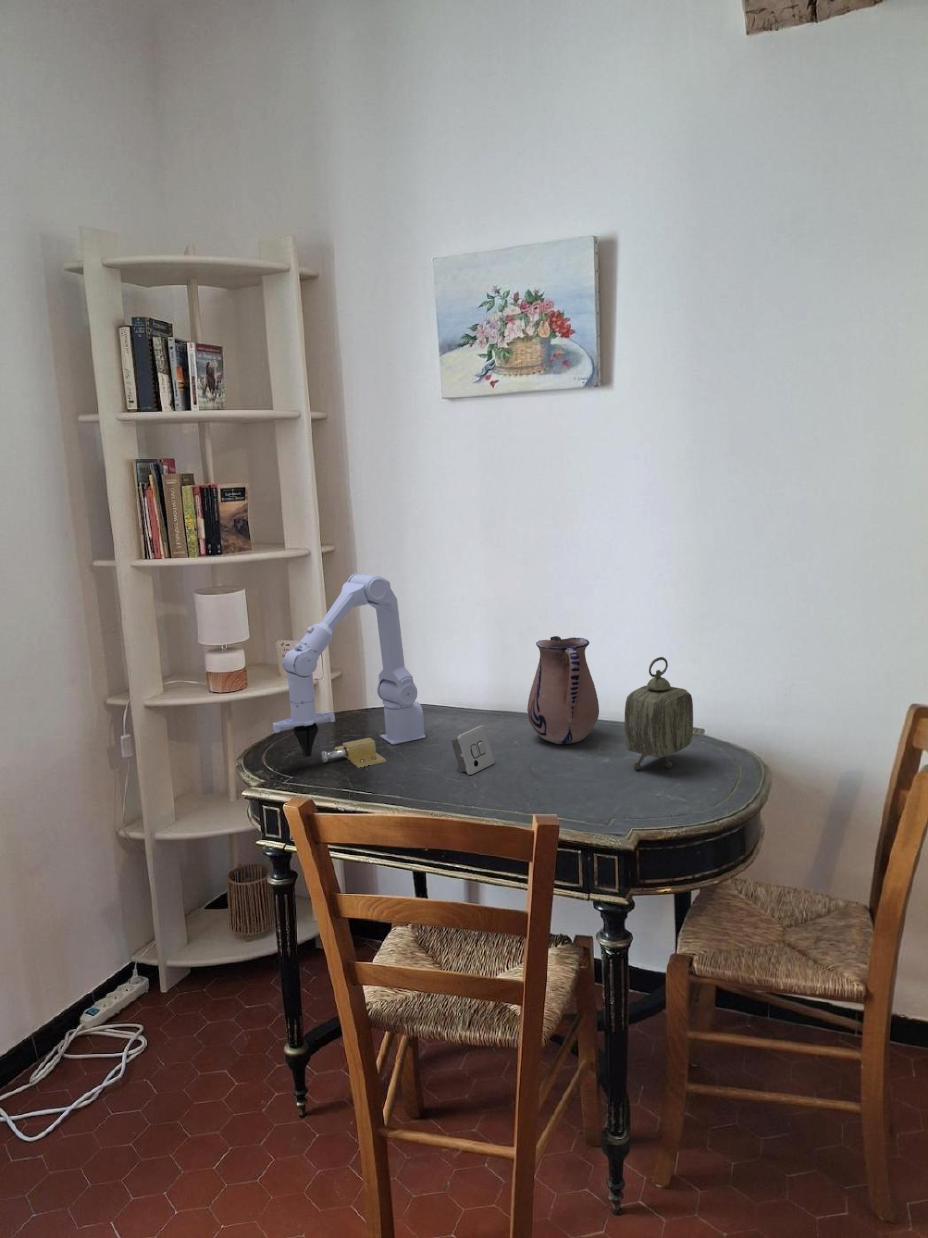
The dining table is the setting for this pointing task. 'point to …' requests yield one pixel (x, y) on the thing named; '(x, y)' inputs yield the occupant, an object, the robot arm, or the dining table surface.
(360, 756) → the hinge leaves
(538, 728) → the ceramic pitcher
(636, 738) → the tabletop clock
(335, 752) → the hinge pin
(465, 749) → the electrical switch
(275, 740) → the dining table surface
